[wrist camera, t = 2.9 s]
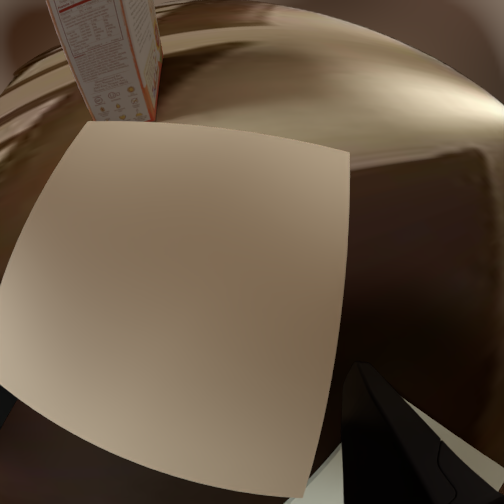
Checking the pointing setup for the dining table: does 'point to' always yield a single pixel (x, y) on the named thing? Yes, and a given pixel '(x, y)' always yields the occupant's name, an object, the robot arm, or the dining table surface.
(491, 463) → the sage mat
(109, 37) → the cracker box
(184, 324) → the birch block
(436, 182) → the dining table surface
